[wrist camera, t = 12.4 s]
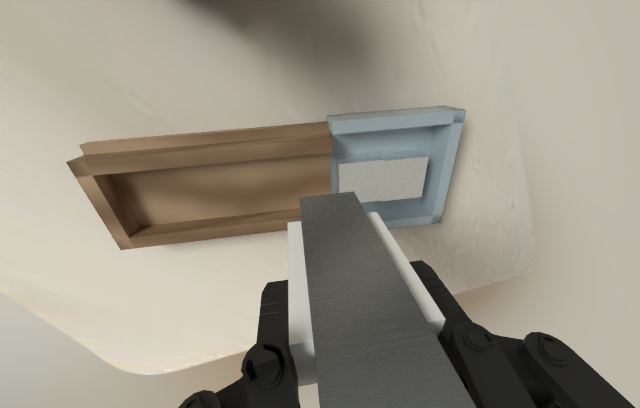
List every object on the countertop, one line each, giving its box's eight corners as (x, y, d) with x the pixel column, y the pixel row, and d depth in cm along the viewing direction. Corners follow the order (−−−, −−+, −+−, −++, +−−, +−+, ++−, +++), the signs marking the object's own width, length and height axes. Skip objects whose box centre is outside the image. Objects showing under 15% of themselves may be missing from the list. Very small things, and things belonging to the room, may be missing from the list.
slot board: (88, 142, 19) (59, 151, 17) (326, 121, 21) (332, 127, 18) (141, 238, 24) (125, 256, 22) (331, 215, 26) (335, 230, 23)
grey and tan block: (297, 197, 14) (363, 880, 2) (354, 190, 15) (685, 763, 3) (303, 242, 16) (355, 752, 4) (353, 235, 16) (543, 693, 4)
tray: (326, 115, 20) (332, 121, 18) (444, 105, 21) (466, 109, 19) (331, 219, 26) (336, 235, 23) (425, 208, 27) (440, 222, 24)
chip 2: (375, 152, 22) (384, 160, 20) (414, 148, 22) (428, 156, 20) (372, 190, 24) (381, 201, 22) (409, 186, 24) (421, 196, 22)
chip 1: (333, 155, 22) (339, 164, 20) (375, 151, 22) (384, 159, 20) (334, 193, 24) (339, 205, 22) (372, 189, 24) (381, 200, 22)
